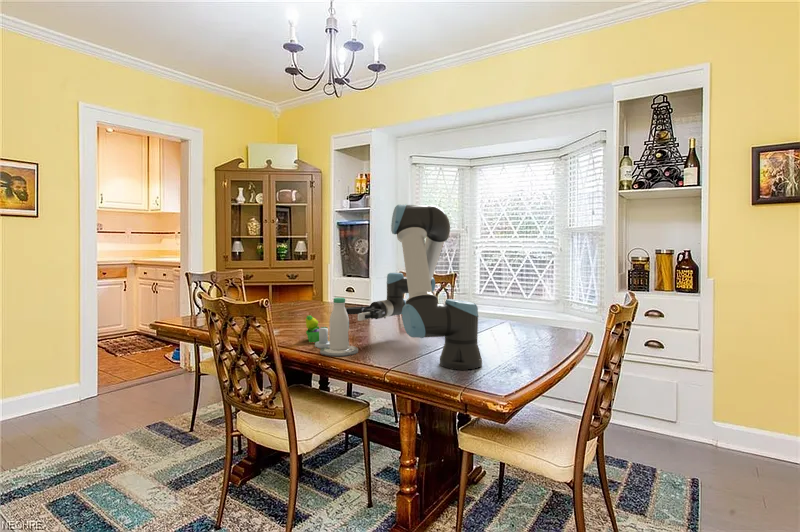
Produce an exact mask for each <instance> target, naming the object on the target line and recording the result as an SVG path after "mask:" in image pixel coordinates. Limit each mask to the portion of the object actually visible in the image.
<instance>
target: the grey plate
mask: <svg viewBox="0 0 800 532" xmlns="http://www.w3.org/2000/svg"><path fill="white" fill-rule="evenodd" d="M319 352H320V354H321V355H322V356H325V357H331V358H332V357H333V358H334V357H335V358H337V357H338V358H339V357H340V358H342V357H350V355H351V356H354V354H355V355H356V353H357V354H358V353H359V348H358V347H357V346H354V345H350V344H349V348H347V349H344V350H333V349H330V346H327V347H323V348H319Z"/></svg>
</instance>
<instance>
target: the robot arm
mask: <svg viewBox="0 0 800 532" xmlns="http://www.w3.org/2000/svg"><path fill="white" fill-rule="evenodd" d="M449 219H450V218H449V217H448V216H447V214H446V212H445V211H444V210H443V209H441V208H440V207H439V206H437V205H433V204H407V203H405V204H397V205H396V206H395V207H394V208H393V213H392V217H391V224H390V227H391V228H390V229H391V231H390V232H391V233H392V235H396V238H397V240H398V242H399V243H401V247H402V253H403V262H404V267H405V268H404V269H405V275H406V276H404V273H402V272H389V273H387V274H386V275H387V276H386V299H385V300H377V301H373V302H371V303H370V305H367V306H366V305H365V306H362V305H361V306H353V307H352V306H351V307H345V309H346V312H347V314H348V315H357V321H358V322H360V321H361V322H362V321H367V320H370V319H371V320H373V319H375V320H379V319H387V318H388V317H393V316H394V317H395V316H400V315H402V317H401V319H402V324H403V327H404V330H405V332H406V334H407V335H408V336H409V337H410V338H417V339H424V338H443V337H444V344H443V347H442V350H441V354H440V356H439V365H440V366H441V367H443V368H446V369H449V368H450V369H449V370H456V369H457V371H469V370H468V369H472V370H476V369H475V368H477V369H479V368H478V367H480V368H482V367H483V359H482V355H481V352H480V349H479V345H478V335H479V334H478V333H479V332H478V331H479V308H478V305H477V304H476V303H474V302H471V301H467V300H461V299H454V298H446V299H445V301H444V303H439V299H438V296H436V295H435V294H433V292H434V291H435V290H436V280H435V277H434V274H435V271H436V267H437V264H438V262H439V258H440V256H441V252H442V249H443V247H444V243H445V242H446V241H447V240H448V239H449V236H450V232H451V223H450V220H449ZM404 294H408V299H407V300H406V299H405V298H404Z"/></svg>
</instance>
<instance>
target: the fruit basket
mask: <svg viewBox="0 0 800 532" xmlns="http://www.w3.org/2000/svg"><path fill="white" fill-rule="evenodd" d="M318 324H319V320H318V319H317V318H315V317H313V316H312V315H307V316H306V318H305V326H306V328H307V330H306V331H305V333H306V336H307V339H308V342H318V341H319V328H328V327H327V326H319V325H318Z"/></svg>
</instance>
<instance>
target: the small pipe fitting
mask: <svg viewBox="0 0 800 532" xmlns="http://www.w3.org/2000/svg"><path fill="white" fill-rule="evenodd" d="M328 339H329V329H328V328H319V341H318V342H315V343H314V347H315V348H316V347H317V348H316V349H321V348H323V347H327V346H329V340H328Z"/></svg>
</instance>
